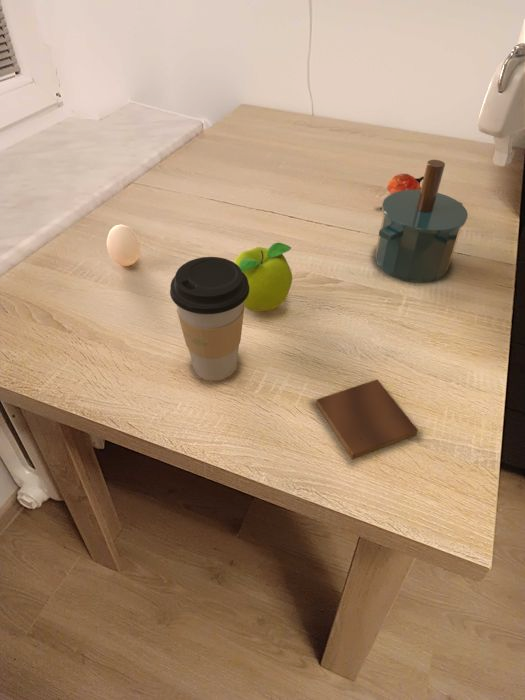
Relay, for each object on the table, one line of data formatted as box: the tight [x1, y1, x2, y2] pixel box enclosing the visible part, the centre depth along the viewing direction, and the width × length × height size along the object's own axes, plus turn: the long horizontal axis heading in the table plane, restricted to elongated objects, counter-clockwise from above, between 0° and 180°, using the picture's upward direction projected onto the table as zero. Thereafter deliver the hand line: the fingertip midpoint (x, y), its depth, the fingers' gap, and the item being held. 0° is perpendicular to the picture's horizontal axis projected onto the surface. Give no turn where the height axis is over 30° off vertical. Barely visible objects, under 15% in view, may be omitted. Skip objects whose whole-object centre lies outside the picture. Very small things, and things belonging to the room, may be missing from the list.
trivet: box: [315, 379, 419, 460], centre depth 62 cm, size 9×9×1 cm
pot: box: [375, 201, 463, 283], centre depth 84 cm, size 12×18×10 cm
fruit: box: [233, 242, 293, 312], centre depth 75 cm, size 9×9×10 cm
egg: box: [106, 224, 141, 267], centre depth 84 cm, size 5×5×7 cm
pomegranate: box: [379, 173, 424, 210], centre depth 99 cm, size 7×7×10 cm
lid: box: [381, 159, 469, 233], centre depth 78 cm, size 13×13×9 cm
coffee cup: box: [169, 256, 249, 382], centre depth 63 cm, size 9×9×15 cm
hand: (522, 154), depth 66 cm, fingers open, 8 cm apart
